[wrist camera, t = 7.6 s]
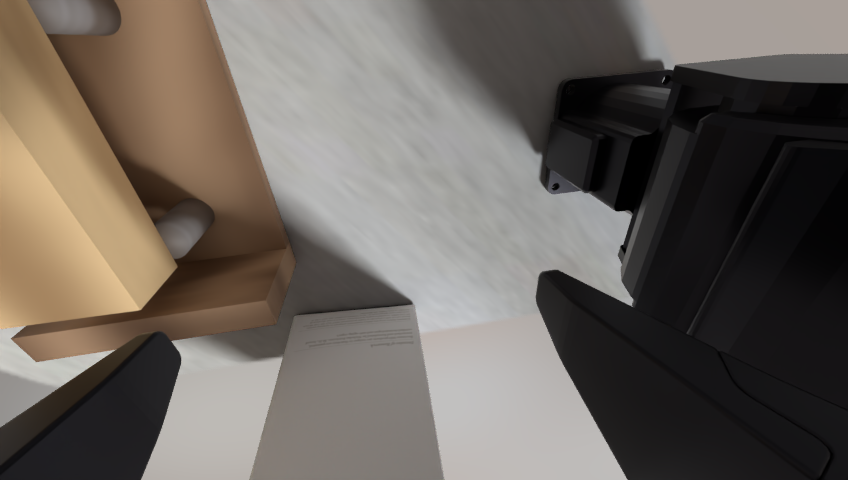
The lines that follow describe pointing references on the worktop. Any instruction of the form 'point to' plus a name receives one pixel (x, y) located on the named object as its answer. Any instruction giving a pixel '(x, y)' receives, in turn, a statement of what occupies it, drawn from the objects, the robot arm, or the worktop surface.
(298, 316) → the supplement box
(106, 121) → the peg frame
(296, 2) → the worktop surface
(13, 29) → the shelf board
